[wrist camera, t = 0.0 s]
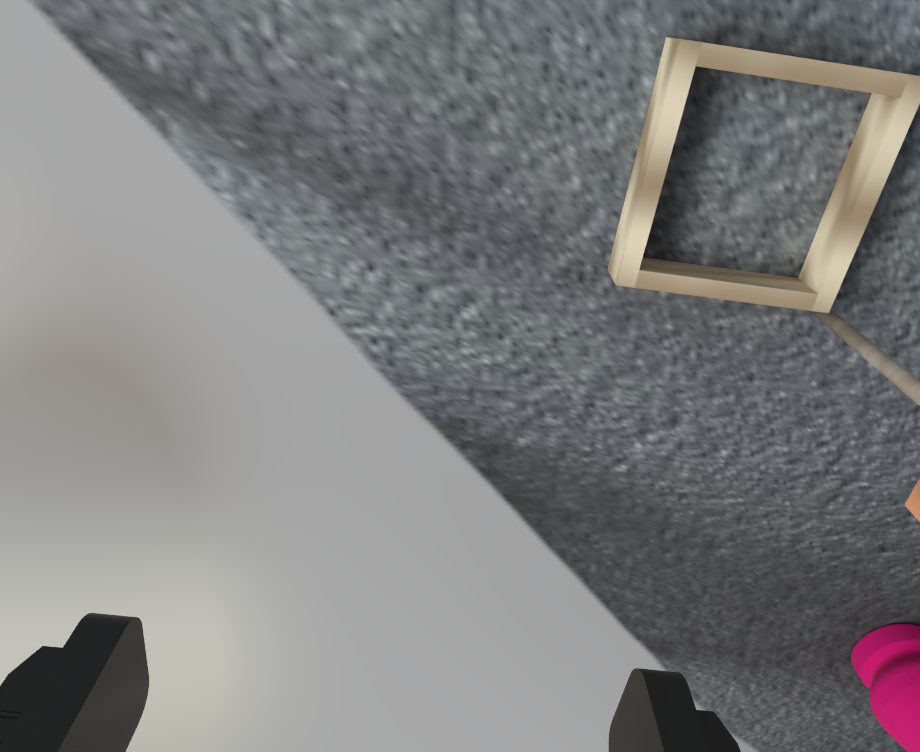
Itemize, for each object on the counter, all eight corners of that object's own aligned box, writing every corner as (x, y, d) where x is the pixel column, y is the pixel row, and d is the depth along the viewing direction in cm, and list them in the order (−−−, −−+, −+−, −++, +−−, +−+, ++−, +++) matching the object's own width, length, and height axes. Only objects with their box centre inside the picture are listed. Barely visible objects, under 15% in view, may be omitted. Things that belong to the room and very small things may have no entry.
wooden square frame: (666, 37, 33) (820, 54, 18) (915, 75, 33) (1245, 121, 19) (588, 344, 40) (655, 520, 26) (790, 369, 41) (960, 553, 27)
